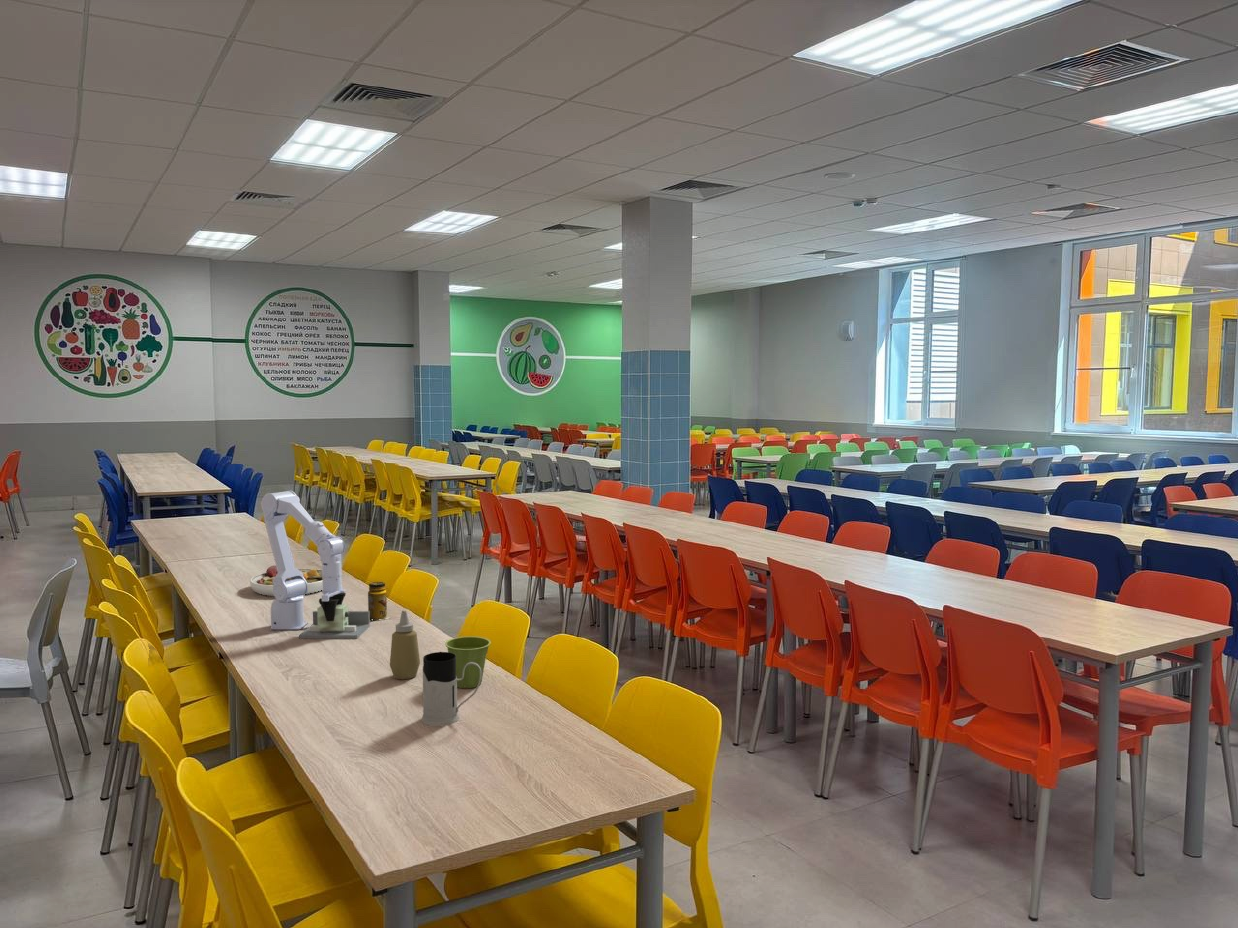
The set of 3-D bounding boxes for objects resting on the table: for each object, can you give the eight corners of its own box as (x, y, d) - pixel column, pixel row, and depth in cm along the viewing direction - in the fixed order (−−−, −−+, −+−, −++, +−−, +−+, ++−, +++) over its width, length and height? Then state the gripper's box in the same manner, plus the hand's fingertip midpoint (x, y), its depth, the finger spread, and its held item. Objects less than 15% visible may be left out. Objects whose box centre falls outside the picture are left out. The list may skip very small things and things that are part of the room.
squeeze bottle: (426, 673, 235) (425, 608, 233) (409, 682, 227) (408, 616, 226) (400, 670, 238) (399, 606, 236) (383, 679, 230) (382, 613, 228)
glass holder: (426, 711, 207) (425, 650, 206) (485, 712, 207) (484, 651, 206) (416, 725, 199) (416, 662, 197) (478, 726, 198) (477, 663, 197)
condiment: (390, 618, 290) (390, 583, 289) (365, 622, 285) (365, 586, 284) (383, 614, 296) (383, 579, 295) (359, 617, 292) (358, 582, 290)
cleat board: (299, 638, 267) (298, 622, 266) (314, 625, 281) (314, 610, 280) (357, 638, 267) (357, 622, 267) (369, 626, 281) (369, 611, 280)
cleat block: (317, 630, 269) (317, 608, 268) (323, 625, 274) (322, 604, 273) (346, 630, 269) (345, 608, 269) (351, 626, 274) (350, 604, 274)
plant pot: (476, 694, 219) (476, 651, 218) (436, 688, 223) (436, 646, 222) (499, 679, 230) (498, 638, 229) (460, 674, 234) (459, 634, 233)
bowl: (350, 587, 337) (349, 567, 336) (283, 602, 312) (283, 581, 311) (300, 577, 353) (299, 558, 352) (233, 591, 328) (233, 571, 327)
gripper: (337, 581, 263) (338, 624, 264) (351, 571, 277) (352, 612, 279) (314, 581, 263) (315, 624, 264) (329, 571, 277) (330, 612, 279)
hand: (333, 618), depth 271 cm, fingers closed on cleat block, 5 cm apart
